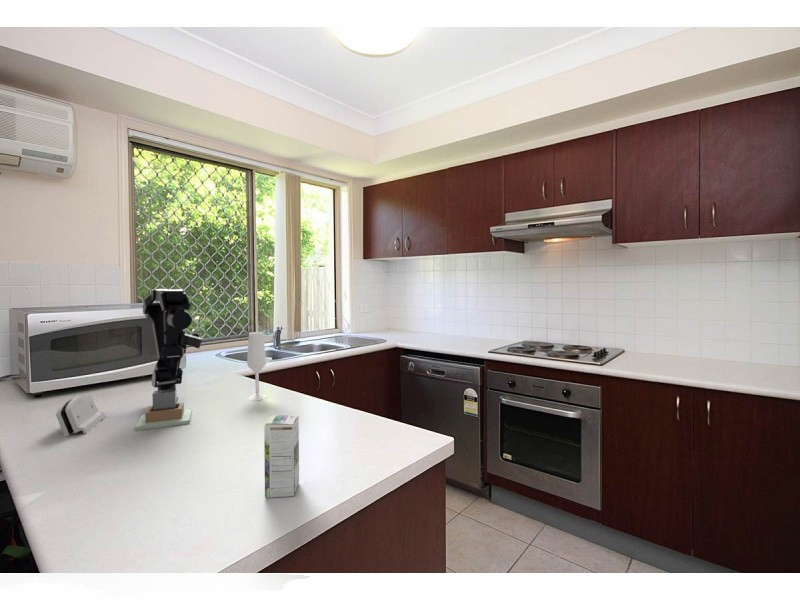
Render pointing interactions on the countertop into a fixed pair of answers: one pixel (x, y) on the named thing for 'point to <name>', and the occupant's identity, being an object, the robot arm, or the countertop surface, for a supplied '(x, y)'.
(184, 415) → the post socket
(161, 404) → the brushed grey metal block
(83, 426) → the hinge
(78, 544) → the countertop surface
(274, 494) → the syrup box
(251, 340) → the champagne flute
